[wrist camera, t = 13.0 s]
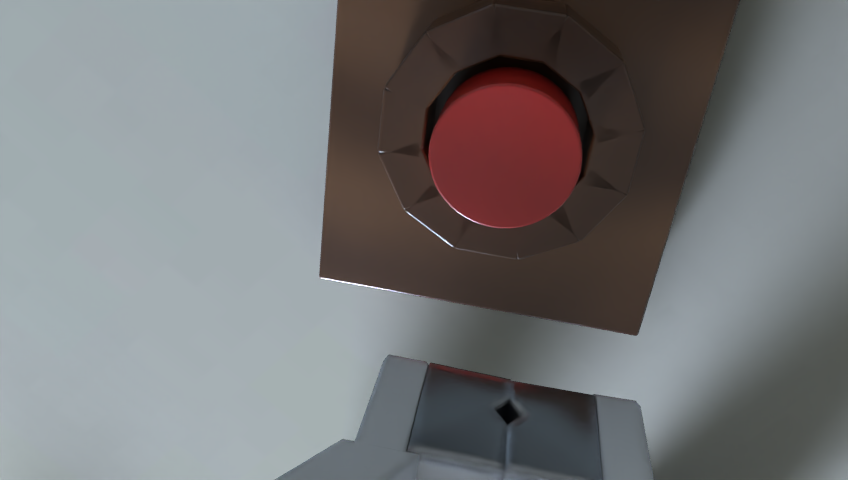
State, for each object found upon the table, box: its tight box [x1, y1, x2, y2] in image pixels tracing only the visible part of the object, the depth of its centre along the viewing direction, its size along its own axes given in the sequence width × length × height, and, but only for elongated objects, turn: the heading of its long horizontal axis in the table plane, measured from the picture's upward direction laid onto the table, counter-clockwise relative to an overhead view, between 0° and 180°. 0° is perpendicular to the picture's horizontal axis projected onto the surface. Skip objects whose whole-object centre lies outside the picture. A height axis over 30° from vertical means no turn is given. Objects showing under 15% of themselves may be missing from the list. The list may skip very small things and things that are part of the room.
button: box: [428, 67, 582, 228], centre depth 18 cm, size 4×4×2 cm
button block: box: [319, 0, 740, 336], centre depth 20 cm, size 12×10×4 cm
